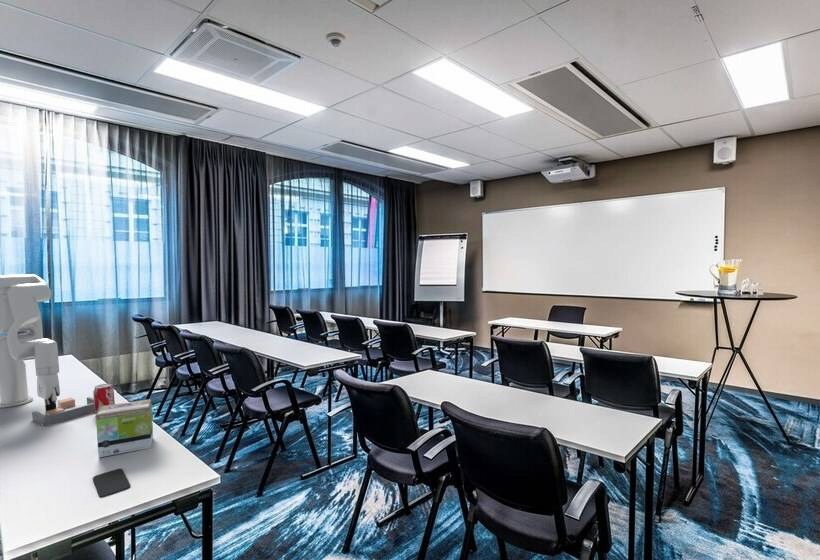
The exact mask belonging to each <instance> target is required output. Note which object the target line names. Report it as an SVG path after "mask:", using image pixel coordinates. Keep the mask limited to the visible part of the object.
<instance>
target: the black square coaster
mask: <svg viewBox="0 0 820 560" xmlns="http://www.w3.org/2000/svg"><path fill="white" fill-rule="evenodd" d="M92 480H93V481H92V482H93V484H94V487H95V489H96V491H97V494H98V497H99V498H105V497H108V496H111V495H114V494H117V493H120V492H123V491H126V490H129V489H130V488H131V483H130V481H129V479H128V477H127V475H126V474H125V472H124V469H123V468H116V469H112V470H110V471H106V472H104V473H99V474H97V475H94V476H93V477H92Z"/></svg>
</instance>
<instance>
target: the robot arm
mask: <svg viewBox="0 0 820 560" xmlns="http://www.w3.org/2000/svg"><path fill="white" fill-rule="evenodd" d="M51 298H52V290H51V288H50V287H49V284H47V282H46V281H44V279H42V277H40V276H38V275H37V274H31V273H28V274H8V275H7V274H6V275H0V334H6V335H4V336H0V408H1V409H2V408H10V407H11V408H12V407H17V406H21V405H24V404H28V403H29V402H31V401H33V400H34V397H33V396H30V395H29V388H28V378H27V369H26V363H25V360H29V359H34V366H35V375H36V377H37V378H36V382H37V383H36V387H37V388H36V391H37V397H39V398H41V399H44V400H43V401H44V409H45V411H49V410H52V409H56V408H57V401H58V397H60V396H61V387H60V380H59V375H58V374H59V373H60V362H59V351H58V350H59V349H58V343H57V341H55V340H52V339H50V338H46V337H45V338H44V336H43V335H44V334H43V323H42V314H41V311H40V308H39V306H38V305H39V304H38V303H41V302H47V301H49V300H50V299H51ZM18 332H25V333H19V334H18Z"/></svg>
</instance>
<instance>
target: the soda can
mask: <svg viewBox="0 0 820 560" xmlns="http://www.w3.org/2000/svg"><path fill="white" fill-rule="evenodd" d="M114 389H115V388H114V387H113V386H112V383H102V384H98V385H96V386H94V389H93V391H92V392H93V393H92V394H93V397H92V398H94V409H95V412H94V414H95V416H96V415H97V414H98V412H99V410H100V408H101V406H107V405H114V404H116V403H115V402H116V401H115V390H114Z"/></svg>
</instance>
